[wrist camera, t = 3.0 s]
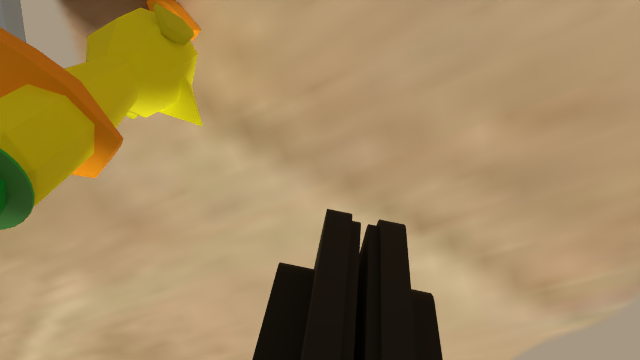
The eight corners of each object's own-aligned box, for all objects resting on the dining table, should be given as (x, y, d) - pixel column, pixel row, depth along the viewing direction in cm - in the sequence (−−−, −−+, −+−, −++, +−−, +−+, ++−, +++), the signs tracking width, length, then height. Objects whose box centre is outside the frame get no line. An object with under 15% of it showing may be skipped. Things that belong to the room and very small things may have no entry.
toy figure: (64, -3, 18) (-368, 130, 7) (107, -87, 16) (-364, -67, 6) (213, 112, 20) (29, 349, 9) (265, 46, 18) (113, 242, 8)
